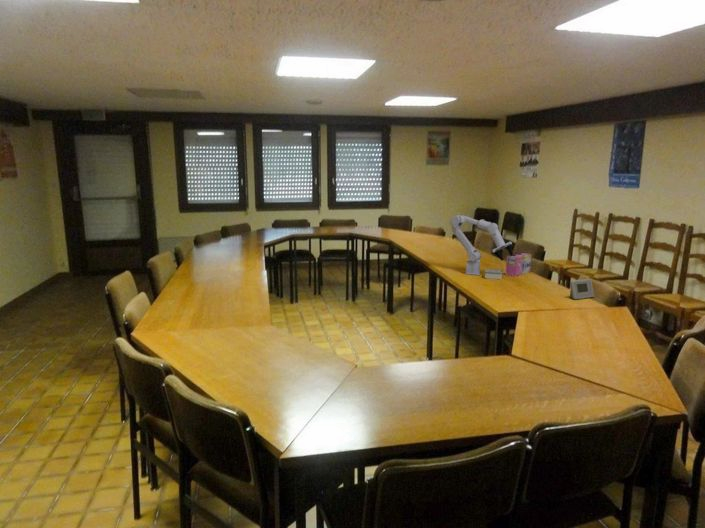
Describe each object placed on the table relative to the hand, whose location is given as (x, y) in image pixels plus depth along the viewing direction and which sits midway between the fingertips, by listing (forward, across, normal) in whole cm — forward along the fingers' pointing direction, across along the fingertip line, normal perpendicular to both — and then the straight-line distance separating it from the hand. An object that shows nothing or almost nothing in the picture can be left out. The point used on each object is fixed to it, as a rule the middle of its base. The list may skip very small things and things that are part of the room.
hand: (507, 258), depth 322 cm
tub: (+8, -13, +6) cm, 16 cm away
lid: (+5, -10, +4) cm, 12 cm away
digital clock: (+38, +8, -43) cm, 57 cm away
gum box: (+14, +11, +17) cm, 25 cm away
